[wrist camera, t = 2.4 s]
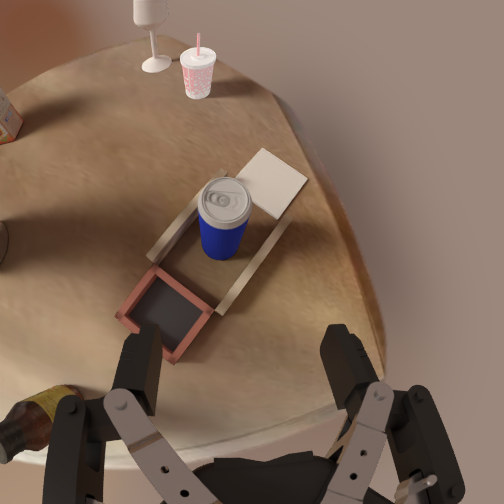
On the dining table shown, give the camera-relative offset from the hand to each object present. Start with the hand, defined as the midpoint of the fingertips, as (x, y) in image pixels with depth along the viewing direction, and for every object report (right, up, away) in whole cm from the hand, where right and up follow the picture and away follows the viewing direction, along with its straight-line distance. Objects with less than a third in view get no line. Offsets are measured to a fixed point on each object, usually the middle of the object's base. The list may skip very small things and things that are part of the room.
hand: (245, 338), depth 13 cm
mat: (+3, +15, +30) cm, 34 cm away
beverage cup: (-10, +34, +33) cm, 49 cm away
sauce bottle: (-27, -19, +18) cm, 37 cm away
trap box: (-11, -4, +23) cm, 26 cm away
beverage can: (-4, +5, +27) cm, 28 cm away
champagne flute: (-20, +44, +34) cm, 59 cm away
